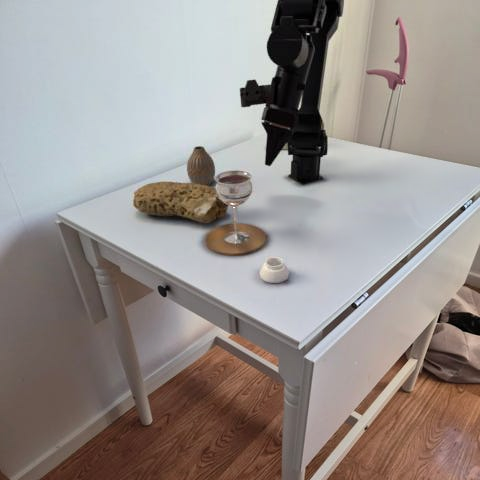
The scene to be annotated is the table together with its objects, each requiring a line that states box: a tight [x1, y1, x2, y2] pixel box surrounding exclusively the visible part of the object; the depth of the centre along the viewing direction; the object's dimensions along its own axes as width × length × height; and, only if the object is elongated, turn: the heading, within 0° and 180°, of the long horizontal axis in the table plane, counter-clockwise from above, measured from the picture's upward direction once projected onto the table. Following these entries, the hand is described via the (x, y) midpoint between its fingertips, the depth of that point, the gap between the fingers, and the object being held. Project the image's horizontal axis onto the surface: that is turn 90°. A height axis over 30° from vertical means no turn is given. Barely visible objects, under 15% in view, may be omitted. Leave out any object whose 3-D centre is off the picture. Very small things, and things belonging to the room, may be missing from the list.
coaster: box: [204, 223, 267, 256], centre depth 83 cm, size 12×12×1 cm
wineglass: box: [214, 169, 253, 243], centre depth 79 cm, size 7×7×12 cm
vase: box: [186, 145, 216, 186], centre depth 104 cm, size 7×7×9 cm
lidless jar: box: [259, 256, 290, 284], centre depth 72 cm, size 5×3×5 cm
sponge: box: [132, 181, 230, 224], centre depth 91 cm, size 13×8×20 cm
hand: (268, 162), depth 84 cm, fingers open, 9 cm apart
